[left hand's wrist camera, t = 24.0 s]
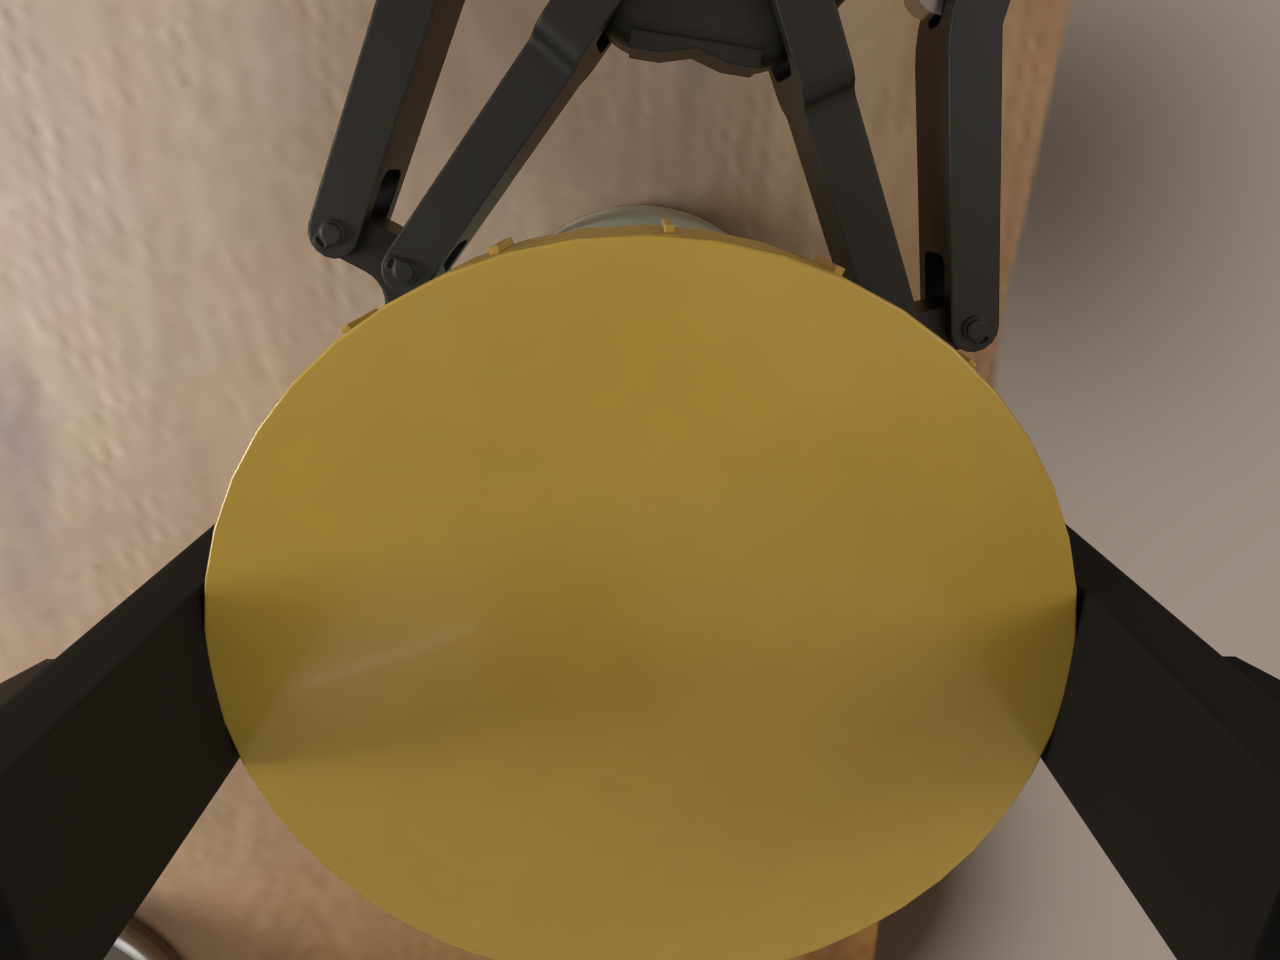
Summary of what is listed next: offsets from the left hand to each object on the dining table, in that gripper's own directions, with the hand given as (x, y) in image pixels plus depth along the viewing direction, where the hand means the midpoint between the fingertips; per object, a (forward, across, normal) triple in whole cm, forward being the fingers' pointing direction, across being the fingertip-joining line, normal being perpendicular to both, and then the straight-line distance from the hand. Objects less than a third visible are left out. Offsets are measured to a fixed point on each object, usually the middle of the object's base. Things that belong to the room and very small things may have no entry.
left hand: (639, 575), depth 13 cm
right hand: (+10, -1, -4) cm, 11 cm away
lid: (-3, 0, 0) cm, 3 cm away
